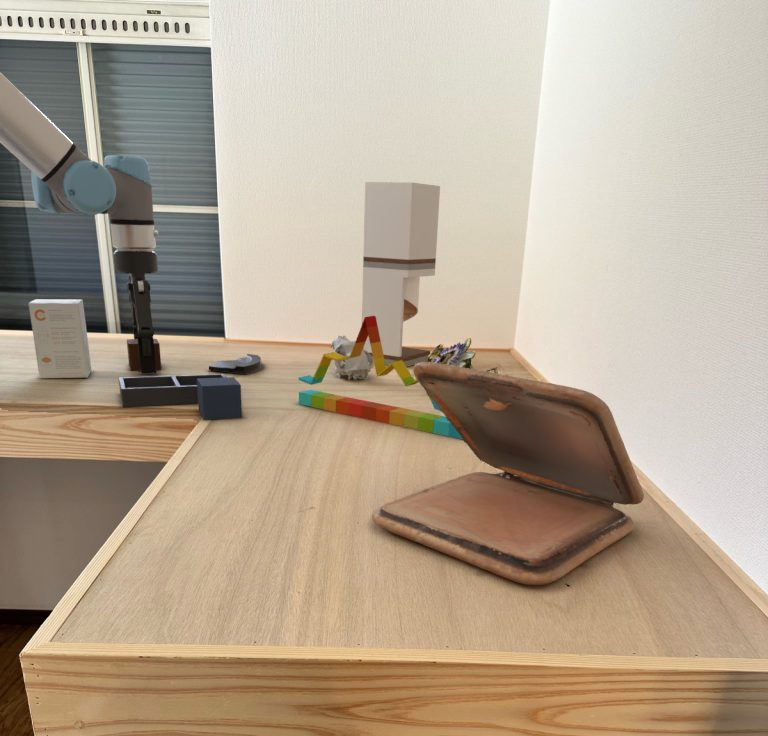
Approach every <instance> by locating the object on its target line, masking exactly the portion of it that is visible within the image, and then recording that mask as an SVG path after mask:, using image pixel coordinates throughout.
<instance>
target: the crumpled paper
mask: <svg viewBox="0 0 768 736" xmlns="http://www.w3.org/2000/svg"><path fill="white" fill-rule="evenodd" d="M355 341H356V340H349V338H348V337H346V335H343V336H342V335H337V337H334V339H332V341H331V344H330V349H332V350H333V352H336V353H338V354H341V355H343V356H350V354H351V352H352V349H353V347H354V344H355ZM369 360H370V362H368V361H369ZM374 366H375V365H374V360H373V357H372V356H371V355H370V354H369V353H368V351H366V350H364V347H363V350H362V353H361V355H360V356H357V357H354V358H350V359H346V360H341V361H334V360H333V367H334V372H335V374H337V378H339V379H340V378H341V377H342V376H347V380H348V381H349V380H350V379H352V378H353V379H354V380H356V381H357V379H359V380H363V379H364V380H366V379H367V378H368V376H369V373H370V372H371V370H372V369H373V368H374Z"/></svg>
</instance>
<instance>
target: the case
mask: <svg viewBox="0 0 768 736" xmlns="http://www.w3.org/2000/svg"><path fill="white" fill-rule="evenodd" d="M412 372H413V375H414V377H415V379H417V380H418V381H419V382H418V383H419V384H420V386H421V387H423V389H424V391H425V392H426V394H427V395H428V397H429V396H430V397H429V399H430V398H432V399H433V401H434V402H435V403H436V405H437V406H438V407H439V408H440V411H439V412H441V413H442V414H443V416H445V417H446V418H447V420H448V421H449V422H450V423H451V425H452V426H453V427H454V428H455V429H456V431H457V432H458V433H459V435H460V436H461V437H462V438H463V439H462V441H463V442H464V443H465V444H466V445H467V446H468V447H469V450H471V451H472V452H473V454H474V455H475V457H477V458H478V459H479V460H480V461H481V462H483V463H485V464H487V465H489V466H490V467H493V468H494V469H498V470H499V471H503V472H497V473H490V472H484V471H475V472H471V473H467V474H464V475H462V476H459V477H456V478H453V479H449V480H447V481H445V482H442V483H439V484H437V485H433V486H431V487H427V488H425V489H423V490H420V491H418V492H415V493H412V494H409V495H406V496H404V497H402V498H398V499H394V500H393V501H391V502H387V503H384V504H383V505H382V506H380V507H378V508H376V509H375V510H373V512H372V515H371V519H372V522H373V523H374V525H376V526H378V527H379V528H381V529H383V530H385V531H388V532H390V533H393V534H395V535H398V536H400V537H403V538H406V539H408V540H410V541H412V542H416V543H418V544H421V545H423V546H426V547H428V548H431V549H433V550H436V551H438V552H441V553H443V554H446V555H448V556H451V557H453V558H456V559H458V560H460V561H463V562H466V563H468V564H470V565H473V566H474V567H477V568H480V569H482V570H485V571H487V572H490V573H493V574H494V575H497V576H499V577H503V578H505V579H508V580H510V581H512V582H516V583H518V584H521V585H522V584H523V585H529V586H543V585H547V584H550V583H551V584H552V583H553V582H556V581H557V580H559V579H561V578H562V577H564V576H565V575H567V574H568V573H570V572H571V571H572V570H575V569H576V568H577V567H579V566H580V565H581V564H583V563H585V562H586V561H588V560H589V559H590V558H592V557H594V556H595V555H596V554H599V553H600V552H601V551H603V550H605V549H606V548H608V547H610V546H611V545H612V544H614V543H616V542H618V541H619V540H621V539H622V538H625V536H627V535H630V533H631V532H632V531H633V530H634V528H635V522H634V520H633V519H632V518H631V517H630V516H628V515H627V514H626V513H624V511H622V510H620V509H618V508H615V507H614V504H619V505H631V506H632V505H639V504H641V503H642V502H643V501H644V499H645V494H644V491H643V488H642V485H641V483H640V481H639V478H638V476H637V474H636V471H635V469H634V466H633V463H632V461H631V459H630V455H629V453H628V451H627V448H626V446H625V444H624V441H623V439H622V436H621V433H620V430H619V428H618V426H617V424H616V421H615V418H614V415H613V413H612V411H611V409H610V407H609V405H608V404H607V403H606V402H605V401H604V400H602V399H601V398H600V397H599V396H597V395H595V394H594V393H592V392H589V391H587V390H584V389H580V388H576V387H572V386H568V385H567V386H566V385H562V384H557V383H552V382H546V381H545V382H544V381H541V380H534V379H529V378H523V377H517V376H512V375H507V374H502V373H499V372H498V373H494V371H486V370H482V369H481V370H480V369H474V368H471V369H469V368H463V367H457V366H451V365H445V364H440V363H433V362H432V361H430V362H428V361H425V362H419V363H417V364H414V366H413V369H412Z"/></svg>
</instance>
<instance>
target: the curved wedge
mask: <svg viewBox="0 0 768 736" xmlns="http://www.w3.org/2000/svg"><path fill="white" fill-rule="evenodd" d="M261 360H262V358H261V356H259V355H258V354H251V353H246V356H245V357H239V358H236V359H232V360H229V359H228V360H218V361H216V362H214V363H212V364H210V365H208V370H209V371H212V372H222V373H230V374H240V375H249V374H253V373H256V372H257V371H259V370H260V369H261V368H262V364H261V362H262V361H261Z"/></svg>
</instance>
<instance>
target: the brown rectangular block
mask: <svg viewBox="0 0 768 736" xmlns="http://www.w3.org/2000/svg"><path fill="white" fill-rule="evenodd" d="M153 340H154V351H155V363H156V371H161V370H162V358H161V346H160V342H159V340H158V339H157V338H153ZM126 349H127V359H128V366H129V369H130V371H131V372H133V371H141V369H140V358H139V348H138V339H134V338H129V339H128V338H127V339H126Z"/></svg>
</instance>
